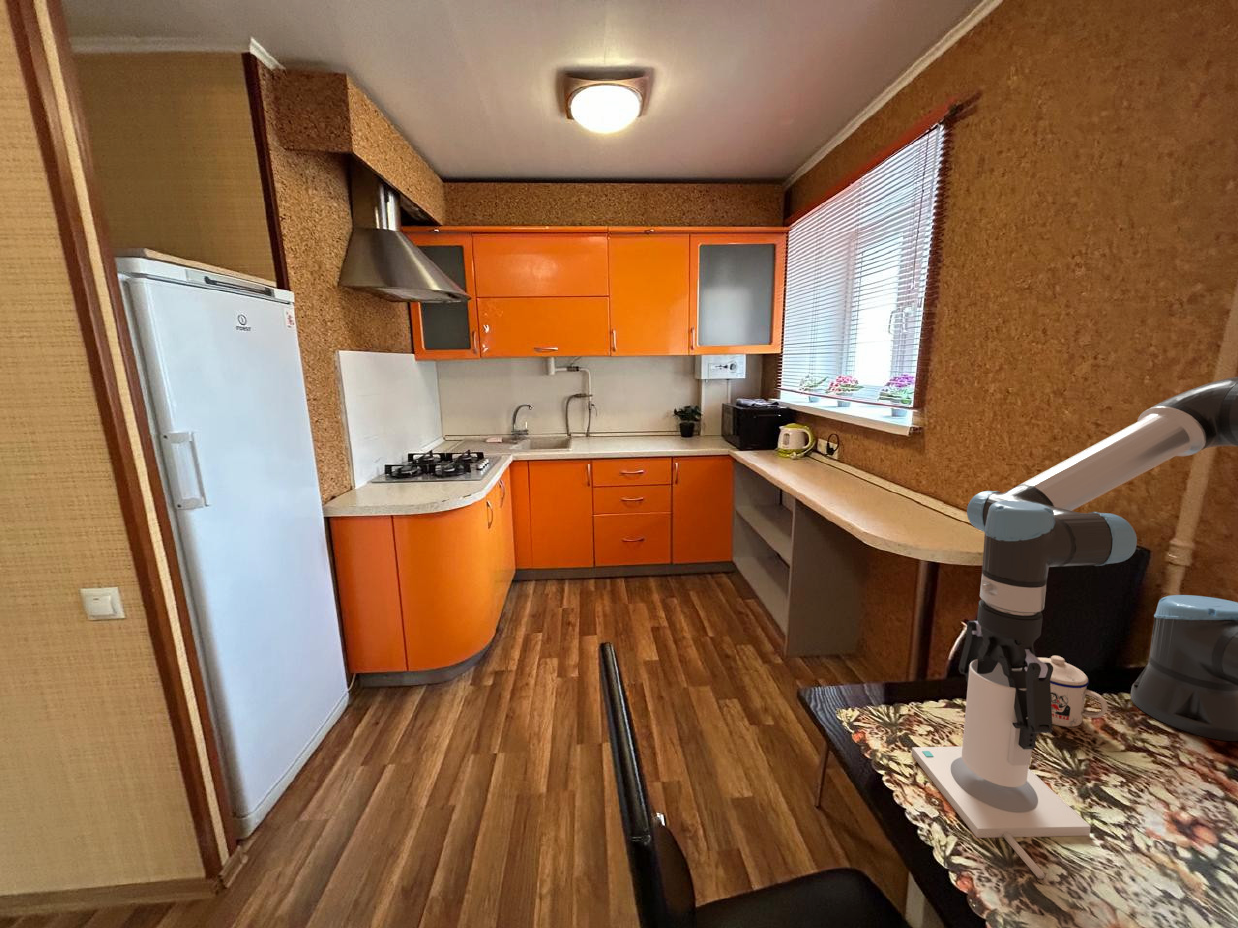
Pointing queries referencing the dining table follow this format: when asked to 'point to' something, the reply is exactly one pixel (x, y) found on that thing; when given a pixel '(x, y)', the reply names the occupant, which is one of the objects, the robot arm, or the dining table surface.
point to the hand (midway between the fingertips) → (996, 741)
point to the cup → (990, 727)
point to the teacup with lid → (1070, 694)
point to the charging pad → (999, 802)
